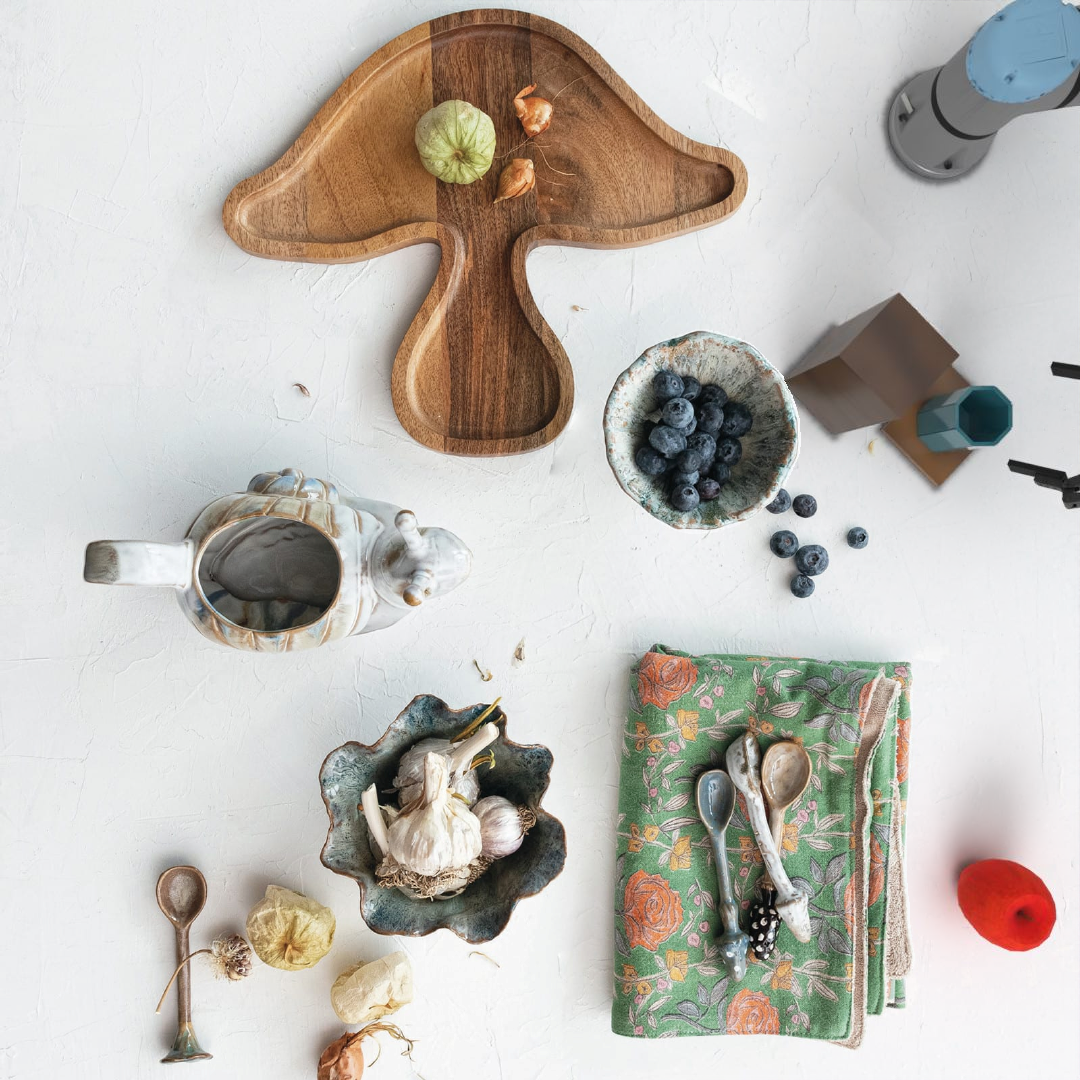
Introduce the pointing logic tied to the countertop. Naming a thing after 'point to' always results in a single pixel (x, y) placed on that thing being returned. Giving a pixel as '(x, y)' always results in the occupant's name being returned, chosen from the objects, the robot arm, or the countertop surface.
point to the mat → (912, 447)
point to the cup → (965, 419)
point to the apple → (1006, 904)
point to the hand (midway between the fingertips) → (1031, 416)
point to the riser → (871, 367)
